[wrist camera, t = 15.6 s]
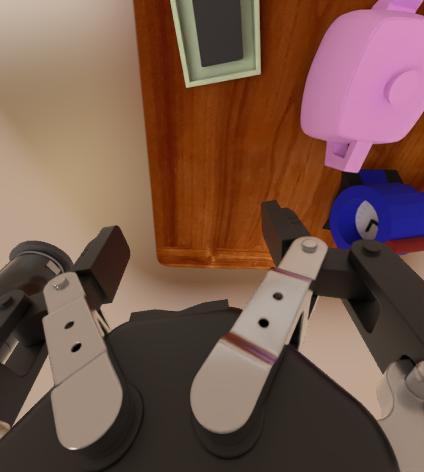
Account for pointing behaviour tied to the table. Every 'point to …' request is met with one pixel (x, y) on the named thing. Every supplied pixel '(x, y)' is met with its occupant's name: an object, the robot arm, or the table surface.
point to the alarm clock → (378, 211)
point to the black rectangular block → (218, 31)
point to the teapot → (366, 81)
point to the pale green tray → (190, 47)
